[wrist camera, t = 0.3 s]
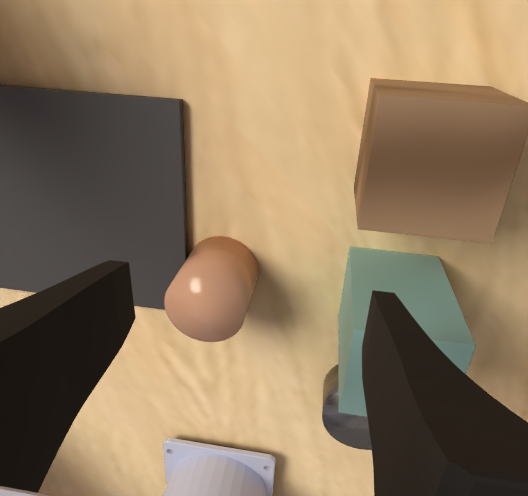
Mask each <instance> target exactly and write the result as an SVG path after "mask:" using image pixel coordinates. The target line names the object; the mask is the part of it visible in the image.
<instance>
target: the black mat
mask: <svg viewBox="0 0 528 496" xmlns="http://www.w3.org/2000/svg"><path fill="white" fill-rule="evenodd" d="M187 258H188V238H187V210H186V182H185V154H184V126H183V99H172V98H160V97H147V96H134V95H122V94H109V93H96V92H84V91H71V90H58V89H46V88H33V87H21V86H8V85H0V288H7V289H14V290H22V291H29V292H36V293H38V292H40V291H42V290H45V289H47V288H49V287H52V286H54V285H56V284H58V283H60V282H62V281H64V280H66V279H68V278H70V277H73V276H75V275H77V274H79V273H81V272H83V271H85V270H87V269H89V268H92V267H94V266H96V265H98V264H101V263H103V262H106V261H109V260H113V261H122V262H129V267H130V275H131V284H132V293H133V302H134V306H141V307H149V308H156V309H164V310H165V305H164V299H165V294H166V291H167V289H168V288H169V286H170V284H171V283H172V281H173V280H174V278H175V277H176V275H177V273H178V272H179V270H180V269H181V267H182V266H183V264H184V262H185V261H186V259H187Z"/></svg>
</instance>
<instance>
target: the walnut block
mask: <svg viewBox="0 0 528 496" xmlns="http://www.w3.org/2000/svg"><path fill="white" fill-rule="evenodd" d="M527 135H528V103H527V102H525V101H523V100H520V99H518V98H516V97H513V96H511V95H509V94H506V93H504V92H502V91H500V90H497V89H495V88H493V87H489V86H475V85H460V84H446V83H432V82H417V81H403V80H389V79H375V78H371V79H370V86H369V92H368V99H367V105H366V112H365V118H364V125H363V131H362V138H361V144H360V151H359V157H358V164H357V170H356V177H355V183H354V193H355V204H356V214H357V224H358V229H360V230H370V231H379V232H389V233H398V234H407V235H417V236H426V237H435V238H445V239H454V240H463V241H473V242H482V243H492V242H493V238H494V235H495V232H496V229H497V226H498V223H499V220H500V217H501V214H502V211H503V208H504V205H505V202H506V199H507V196H508V193H509V190H510V187H511V184H512V181H513V178H514V175H515V172H516V168H517V165H518V162H519V159H520V156H521V153H522V150H523V147H524V144H525V141H526V138H527Z"/></svg>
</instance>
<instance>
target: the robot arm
mask: <svg viewBox="0 0 528 496" xmlns="http://www.w3.org/2000/svg"><path fill="white" fill-rule="evenodd" d="M134 320H135V310H134V302H133V293H132V284H131V275H130V267H129V262H122V261H113V260H109V261H106V262H103V263H101V264H98V265H96V266H94V267H92V268H89V269H87V270H85V271H83V272H81V273H79V274H77V275H75V276H73V277H70V278H68V279H66V280H64V281H62V282H60V283H58V284H56V285H54V286H52V287H49V288H47V289H45V290H42V291H40V292H38V293H36V294H33V295H31V296H29V297H26V298H24V299H22V300H19V301H17V302H15V303H12V304H9V305H7V306H4V307H2V308H0V496H52V495H47V494H41V493H38V491H39V489H40V487H41V485H42V483H43V480H44V478H45V476H46V474H47V472H48V470H49V468H50V466H51V464H52V462H53V460H54V458H55V456H56V454H57V452H58V450H59V448H60V446H61V444H62V442H63V440H64V438H65V436H66V434H67V432H68V431H69V429H70V427H71V425H72V423H73V421H74V419H75V417H76V416H77V414H78V412H79V411H80V409H81V408H82V406H83V404H84V403H85V401H86V400H87V398H88V397H89V395H90V394H91V392H92V391H93V389H94V388H95V386H96V385H97V383H98V382H99V380H100V379H101V377H102V376H103V374H104V373H105V371H106V370H107V368H108V367H109V365H110V364H111V362H112V361H113V359H114V358H115V356H116V355H117V353H118V352H119V350H120V349H121V347H122V345H123V343H124V341H125V339H126V337H127V335H128V333H129V331H130V329H131V327H132V324H133V322H134ZM362 381H363V389H364V396H365V404H366V411H367V418H368V425H369V432H370V439H371V446H372V455H373V466H374V493H375V496H528V422H526V421H525V420H523V419H522V418H520V417H519V416H517V415H516V414H515V413H513V412H512V411H510V410H509V409H508V408H506V407H505V406H504V405H502V404H501V403H500V402H498V401H497V400H496V399H494V398H493V397H492V396H490V395H489V394H488V393H487V392H486V391H484V390H483V389H482V388H481V387H479V386H478V385H477V384H476V383H475V382H474V381H473V380H471V379H470V378H469V377H468V376H467V375H466V374H465V373H464V372H462V371H461V370H460V369H459V368H458V367H457V366H456V365H455V364H454V363H453V362H452V361H451V360H450V359H449V358H448V357H447V356H446V355H445V354H444V353H443V352H442V351H441V350H440V349H439V348H438V347H437V345H436V344H435V343H434V342H433V341H432V340H431V339H430V337H429V336H428V335H427V334H426V333H425V331H424V330H423V329H422V328H421V327H420V325H419V324H418V323H417V322H416V320H415V319H414V318H413V316H412V315H411V314H410V312H409V311H408V310H407V308H406V307H405V306H404V304H403V303H402V302H401V300H400V299H399V298H398V297H397V295H396V294H395V293H392V292H384V291H375V290H372V295H371V300H370V306H369V311H368V317H367V322H366V327H365V333H364V338H363V343H362ZM163 449H164V460H165V472H166V483H167V485H166V488H165V491H164V493H163V496H272V495H273V485H274V474H275V464H276V459H275V457H274V456H272V455H270V454H265V453H259V452H253V451H247V450H241V449H235V448H229V447H223V446H217V445H211V444H205V443H199V442H193V441H187V440H181V439H175V438H167V439H166V440H165V441H164V444H163Z"/></svg>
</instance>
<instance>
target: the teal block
mask: <svg viewBox="0 0 528 496" xmlns="http://www.w3.org/2000/svg"><path fill="white" fill-rule="evenodd" d="M372 290H375V291H384V292H392V293H395V294H396V295H397V297H398V298H399V299H400V300H401V302H402V303H403V304H404V306H405V307H406V308H407V310H408V311H409V312H410V314H411V315H412V316H413V318H414V319H415V320H416V322H417V323H418V324H419V325H420V327H421V328H422V329H423V330H424V331H425V333H426V334H427V335H428V336H429V337H430V339H431V340H432V341H433V342H434V343H435V344H436V345H437V347H438V348H439V349H440V350H441V351H442V352H443V353H444V354H445V355H446V356H447V357H448V358H449V359H450V360H451V361H452V362H453V363H454V364H455V365H456V366H457V367H458V368H459V369H460V370H461V371H462V372H464V373H465V374H466V372H467V369H468V367H469V364H470V361H471V358H472V355H473V352H474V350H475V347H476V344H475V342H474V340H473V337H472V335H471V332H470V330H469V328H468V325H467V323H466V321H465V318H464V316H463V313H462V311H461V309H460V306H459V304H458V302H457V299H456V297H455V294H454V292H453V290H452V287H451V285H450V283H449V280H448V278H447V275H446V273H445V271H444V268H443V266H442V264H441V261H440V259H439V256H430V255H421V254H412V253H403V252H395V251H386V250H377V249H368V248H359V247H350V248H349V254H348V260H347V266H346V273H345V279H344V285H343V291H342V298H341V304H340V310H339V413H346V414H352V415H359V416H366V417H367V411H366V404H365V396H364V389H363V381H362V343H363V338H364V333H365V327H366V322H367V317H368V311H369V306H370V300H371V295H372Z"/></svg>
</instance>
